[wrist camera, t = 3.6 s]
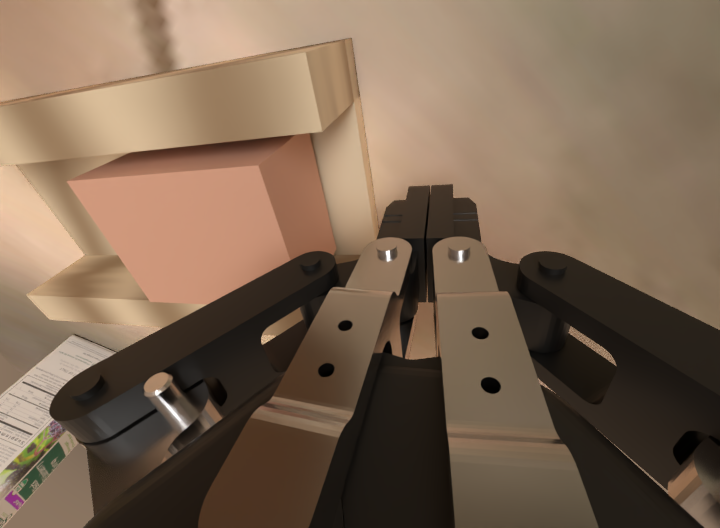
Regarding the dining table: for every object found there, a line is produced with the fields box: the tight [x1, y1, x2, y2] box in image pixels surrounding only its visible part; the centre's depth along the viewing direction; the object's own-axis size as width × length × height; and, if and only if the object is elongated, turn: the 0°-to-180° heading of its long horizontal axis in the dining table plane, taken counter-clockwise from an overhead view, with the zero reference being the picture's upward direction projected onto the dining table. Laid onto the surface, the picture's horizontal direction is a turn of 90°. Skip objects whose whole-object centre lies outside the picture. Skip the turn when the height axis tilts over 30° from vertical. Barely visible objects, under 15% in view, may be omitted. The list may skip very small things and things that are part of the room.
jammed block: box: [67, 133, 336, 309], centre depth 15 cm, size 8×6×4 cm
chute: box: [0, 38, 379, 336], centre depth 17 cm, size 20×11×5 cm, turn 99°
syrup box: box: [0, 335, 116, 528], centre depth 28 cm, size 6×6×14 cm
